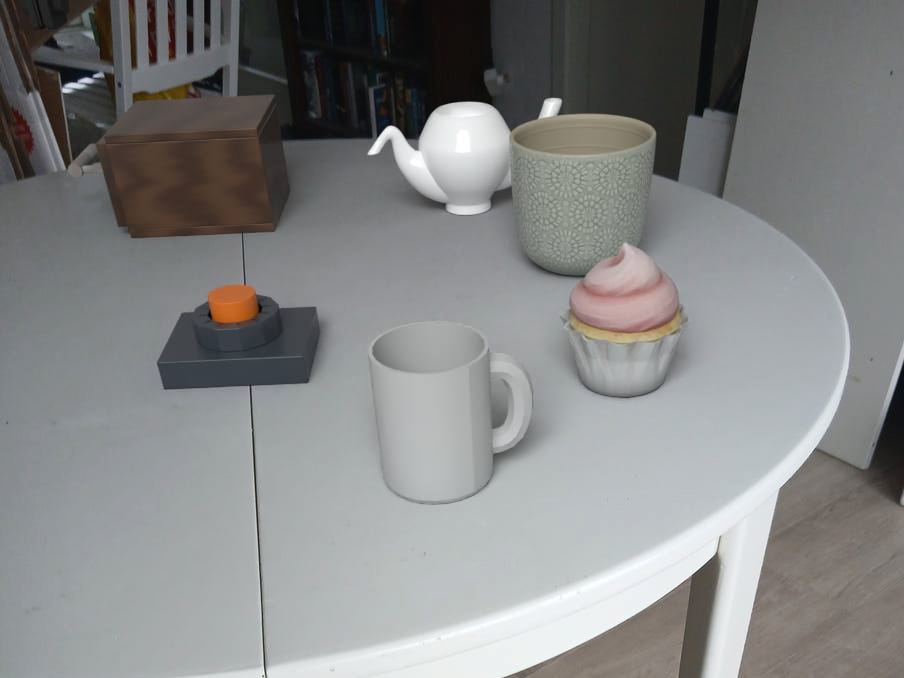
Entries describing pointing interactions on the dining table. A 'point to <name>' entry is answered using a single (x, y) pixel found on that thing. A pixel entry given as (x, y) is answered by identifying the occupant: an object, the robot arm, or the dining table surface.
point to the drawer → (85, 166)
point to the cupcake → (624, 324)
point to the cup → (442, 408)
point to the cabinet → (200, 166)
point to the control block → (240, 348)
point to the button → (233, 303)
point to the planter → (580, 187)
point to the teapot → (459, 154)
